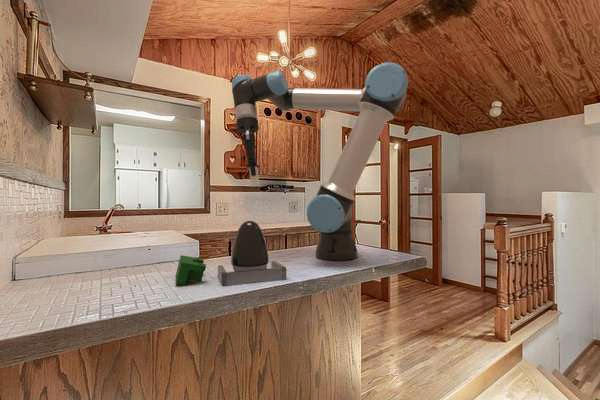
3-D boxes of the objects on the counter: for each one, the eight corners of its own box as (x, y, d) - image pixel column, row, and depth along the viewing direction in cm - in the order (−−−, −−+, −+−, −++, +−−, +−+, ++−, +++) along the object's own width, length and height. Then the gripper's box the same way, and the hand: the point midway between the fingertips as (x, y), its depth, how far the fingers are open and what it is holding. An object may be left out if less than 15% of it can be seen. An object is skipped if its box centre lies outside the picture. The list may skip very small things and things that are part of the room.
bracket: (275, 271, 88) (275, 260, 88) (286, 279, 78) (286, 267, 78) (217, 276, 82) (217, 265, 82) (222, 286, 73) (222, 273, 73)
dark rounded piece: (270, 271, 88) (269, 219, 88) (266, 280, 78) (266, 221, 78) (235, 271, 88) (235, 219, 88) (227, 280, 77) (226, 222, 78)
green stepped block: (197, 300, 76) (206, 270, 73) (172, 297, 74) (181, 266, 71) (198, 272, 87) (206, 245, 84) (176, 269, 84) (184, 241, 82)
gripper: (239, 128, 111) (246, 190, 108) (232, 113, 98) (241, 183, 95) (259, 126, 111) (267, 187, 108) (255, 110, 98) (265, 180, 95)
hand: (255, 185), depth 101 cm, fingers closed
